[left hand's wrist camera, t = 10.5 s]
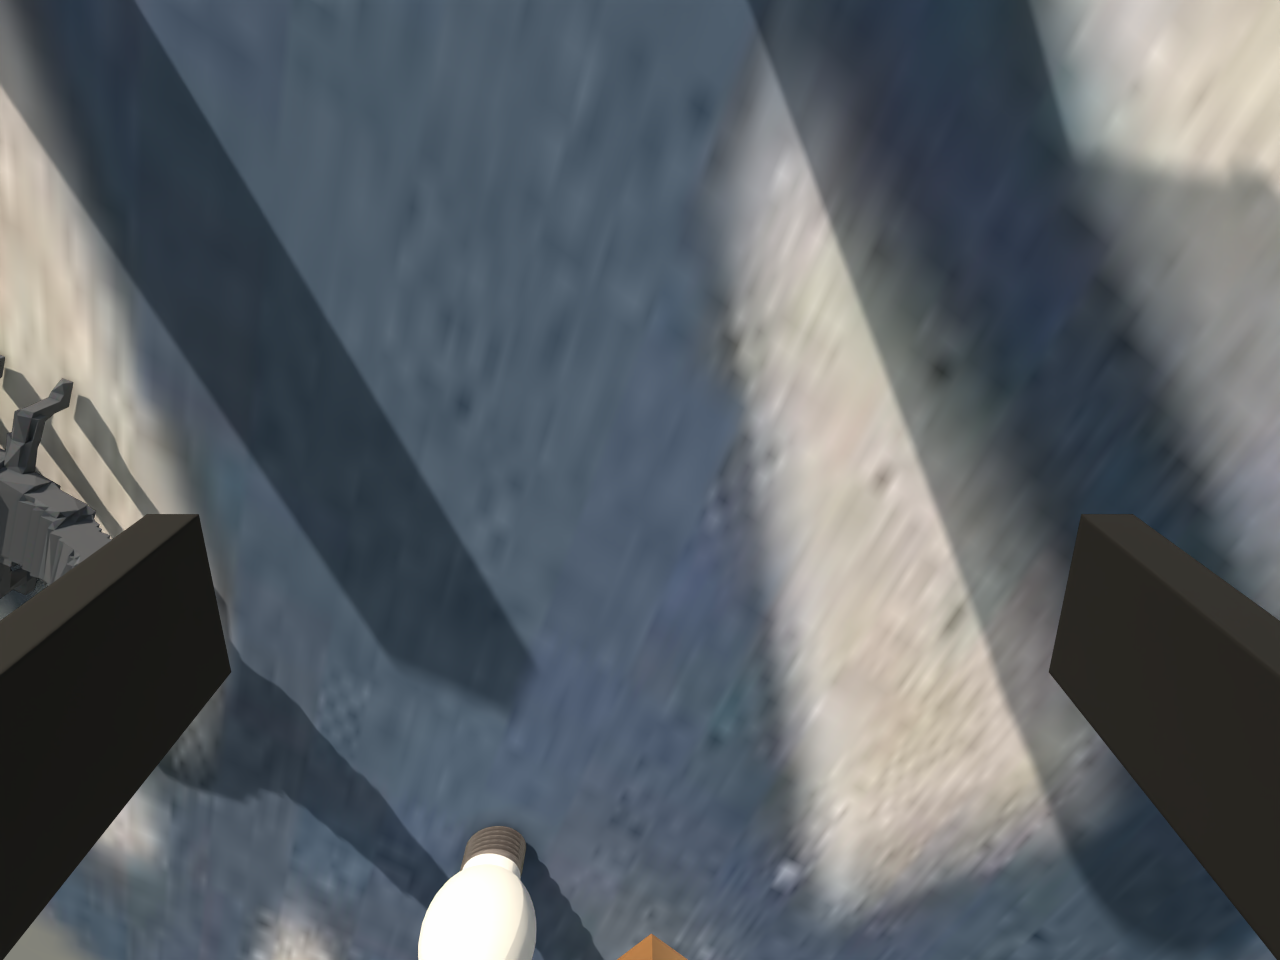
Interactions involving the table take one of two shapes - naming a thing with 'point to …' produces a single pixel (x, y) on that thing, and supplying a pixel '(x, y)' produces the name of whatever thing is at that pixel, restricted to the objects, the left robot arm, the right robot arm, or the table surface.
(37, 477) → the toy
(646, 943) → the bar
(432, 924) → the light bulb
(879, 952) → the table surface
